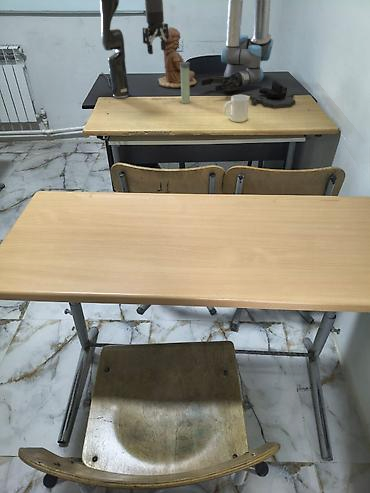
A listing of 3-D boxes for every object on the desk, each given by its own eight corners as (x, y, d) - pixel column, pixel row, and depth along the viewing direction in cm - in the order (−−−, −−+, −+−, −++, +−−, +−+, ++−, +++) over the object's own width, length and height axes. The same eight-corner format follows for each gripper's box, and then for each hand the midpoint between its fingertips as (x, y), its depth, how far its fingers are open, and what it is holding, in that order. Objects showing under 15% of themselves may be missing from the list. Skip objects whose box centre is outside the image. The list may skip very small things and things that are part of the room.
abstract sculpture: (259, 90, 177) (247, 79, 193) (257, 109, 183) (245, 97, 198) (307, 86, 180) (291, 76, 195) (303, 105, 186) (288, 93, 201)
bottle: (180, 101, 197) (179, 63, 184) (187, 100, 198) (187, 62, 186) (183, 104, 193) (182, 65, 181) (191, 102, 195) (190, 64, 182)
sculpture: (197, 88, 213) (196, 30, 194) (156, 89, 214) (152, 31, 194) (196, 75, 234) (196, 22, 215) (159, 76, 235) (156, 23, 215)
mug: (224, 123, 170) (225, 101, 163) (221, 117, 176) (221, 95, 170) (249, 121, 171) (251, 99, 165) (244, 115, 177) (246, 93, 171)
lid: (178, 66, 185) (178, 62, 184) (187, 65, 187) (187, 61, 186) (182, 68, 182) (182, 64, 180) (191, 67, 183) (191, 63, 182)
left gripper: (159, 7, 158) (161, 48, 169) (136, 11, 150) (140, 54, 161) (172, 8, 155) (173, 50, 165) (148, 12, 147) (152, 56, 157)
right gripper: (252, 91, 197) (220, 99, 189) (225, 81, 214) (195, 87, 206) (253, 77, 192) (221, 84, 184) (226, 67, 209) (195, 73, 201)
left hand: (157, 52), depth 163 cm, fingers open, 8 cm apart
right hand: (207, 85), depth 195 cm, fingers open, 13 cm apart
